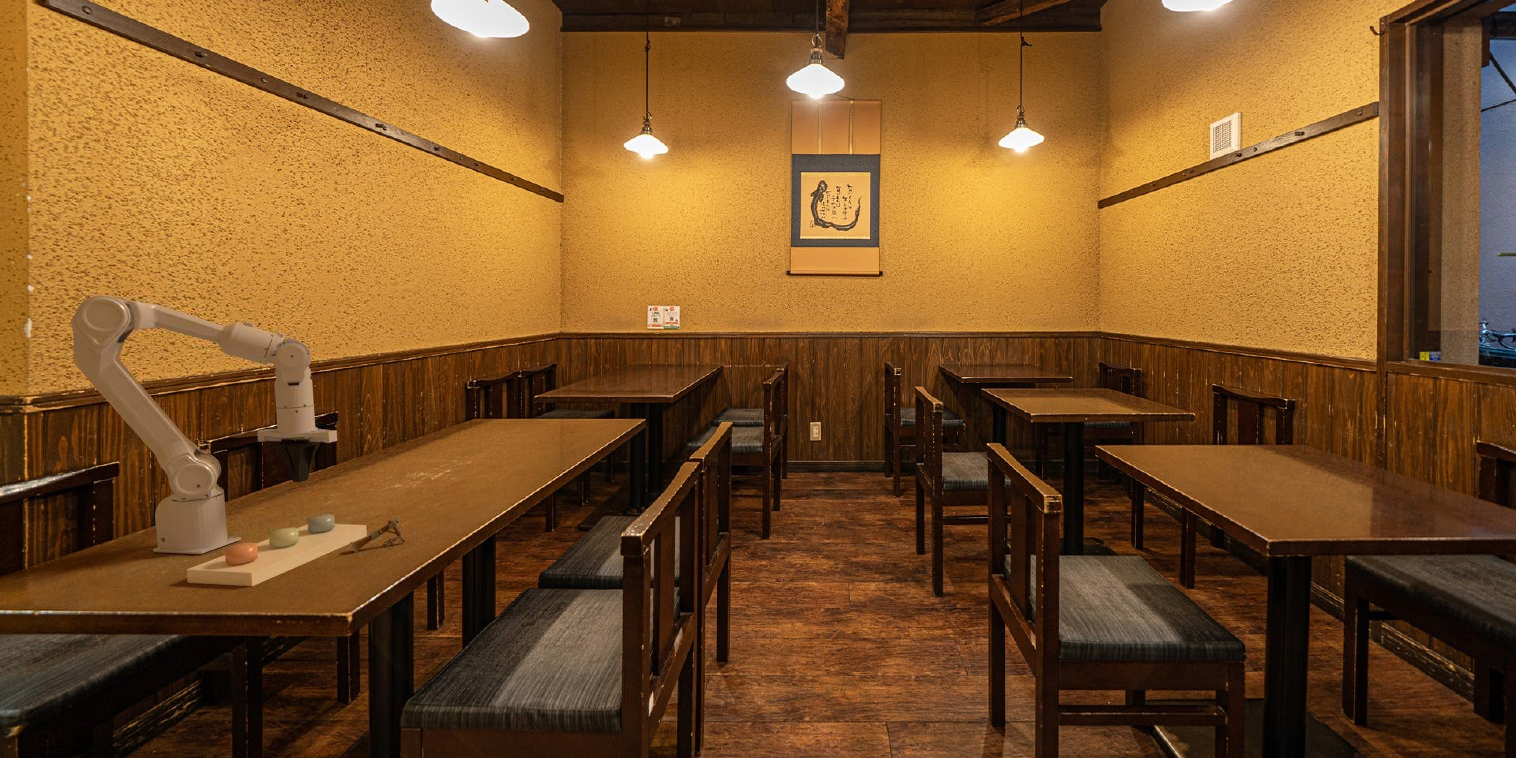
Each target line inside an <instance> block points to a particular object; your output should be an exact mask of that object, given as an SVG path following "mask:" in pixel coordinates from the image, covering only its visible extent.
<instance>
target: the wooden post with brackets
mask: <svg viewBox="0 0 1516 758" xmlns="http://www.w3.org/2000/svg"><path fill="white" fill-rule="evenodd" d="M400 522H401V521H400V519H399V518H398V519H396V520H395V519H393V520H391V519H389V520H388V521H387V524H386V525H384V526H383V527H381V528H378V529H377V530H375V531H374V532H372V533H369V535H367V536H366V537H364V538H361V539H359V540H357V541H355V542H350V544H349V546H351V548H352V550H353V551H354V553H355V554H358V553H359V550H360V549H361V548H362V547H364V546H365V545H367V544H369V543H370V542H371V541H374V540H376V539H377V538H380V537H381V536H383V535H384V533H391V534H395V536H396V537H393V538H389V539H388V540H386V541H383V544H381V547H382V548H389V547H390V546H391V545H392V546H393V545H395V542H397V540H398V539H399V540H400V541H401V542H402V543H404V542H406V539H405V538H404V536H403V534H402V533H401V532H400V530H398V528H397V526H398V525H399V523H400ZM392 529H393V531H392Z"/></svg>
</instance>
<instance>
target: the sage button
mask: <svg viewBox="0 0 1516 758" xmlns="http://www.w3.org/2000/svg"><path fill="white" fill-rule="evenodd" d="M298 528H299V527H283V528H278V529H277V528H276V529H273V530H271V531H268V539H269V544H270V546H271V547H283V546H289V545H293V544H296V543H298V542H299V535H298Z"/></svg>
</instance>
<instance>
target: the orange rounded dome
mask: <svg viewBox="0 0 1516 758" xmlns="http://www.w3.org/2000/svg"><path fill="white" fill-rule="evenodd" d="M256 543H257V542H241V543H237V544H233V545H230V546H227V547H225V548H224V555H225V560H226V563H227V564H240V563H246V562H250V561H253V560H255V559H257V558H258V551H257V544H256Z"/></svg>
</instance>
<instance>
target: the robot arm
mask: <svg viewBox="0 0 1516 758" xmlns="http://www.w3.org/2000/svg"><path fill="white" fill-rule="evenodd" d="M70 324H71V329H72V335H73V361H74V364H75V365H76V368H78V370H79V371H80V372H81V373H82V374H83V375H84V377H85V378H86V379H87V380H88V381H89V382H90V383H91V385H93V387H94V388H95V389H96V390H97V391H98V392H99V394H100V395H101V396H102V397H103V398H104V399H105V400H106V401H107V402H108V403H109V404H110V406H111V407H112V408H113V409H114V410H115V412H116V413H118V415H119V416H120V417H121V418H122V420H123V421H125V423H126V424H127V425H128V426H129V427H130V428H131V429H132V430H133V431H134V433H135V434H136V435H137V436H138V437H139V438H140V439H141V440H142V442H143V443H144V444H145V445H146V446H147V448H149V449H150V450H151V452H152V453H153V455H155V457H156V459H157V462H158V464H159V466H160V468H161V469H162V470H163V471H164V472H165V474H166V475H167V479H168V485H169V487H170V490H171V491H172V493H171V494H170V495H169V496H167V497H165V498H164V499H162V500H161V501H160V502H159V503H158V505H157V507H156V509H155V513H154V518H155V529H156V541H157V547H156V548H155V547H154V548H153V549H152V552H154V553H169V554H189V555H190V554H192V555H201V554H206V553H207V552H211V551H214V550H216V549H219V548H222V547H224V546H227V545H231V544H233V543H236V542H238V541H241V540H242V537H240V536H228V530H227V529H228V527H227V525H228V524H227V515H226V514H227V513H226V502H225V493H224V492H225V491H224V488H222V487H220V486H219V484H218V483H217V481H218V479H219V477H220V476H221V474H222V473H221V472H222V468H221V467H222V466H221V464H220V461H219V460H218V459H217V458H216V457H215V456H213V455H212V454H210V453H207V452H205V451H203V450H202V449H200V448H199V447H198V446H197V444H195V443H194V441H192V440H190V439H189V438H188V437H186V435H185V434H184V433H183V432H182V431H181V429H180V428H179V427H178V426H177V425H176V424H175V423H174V422H173V420H172V419H171V418H170V417H169V415H168V414H167V413H166V412H165V411H164V409H163V408H162V407H161V406H160V405H159V404H158V403H157V402H156V401H155V399H154V398H153V397H152V396H151V395H150V393H148V391H147V390H146V389H145V388H144V387H143V385H141V383H140V382H139V381H138V379H136V377H135V376H134V375H133V374H132V373H131V371H130V370H128V368H127V367H126V366H125V365H124V363H122V361H121V360H120V356H121V354H122V350H123V348H124V346H125V342H126V340H127V338H129V336H130V335H131V334H132V333H133V331H134V330H147V329H148V330H149V329H150V330H151V329H164V330H167V331H171V332H175V333H178V334H182V335H187V336H190V337H194V338H197V339H201V340H205V341H209V342H211V343H216V344H218V346H219V348H220V349H221V351H222V353H223V354H225V355H228V356H229V355H230V356H233V357H235V358H240V359H244V360H247V361H251V362H254V363H256V364H257V363H258V364H260V365H265V366H267V365H268V364H273V366H274V367H275V368H274V369H275V381H274V384H273V385H274V396H275V412H276V423H277V426H276V427H277V428H275V429H273V428H269V429H268V428H267V429H261V430H258V431H257V432H256V433H257V441H258V442H279V444H276V445H275V446H274V447H275V448H274V449H275V451H276V452H277V453H278V455H280V457H281V458H282V460H283V461H284V463H285V465H286V467H287V470H288V471H289V474H290V478H291V481H292V482H293V483H301V482H305V481H308V479H309V475H310V470H311V466H312V463H313V460H314V458H315V455H316V453H317V451H318V450H319V447H320V446H321V443H326V444H329V443H333V442H337V441H338V433H337V432H338V431H337V430H334V429H333V430H331V429H324V428H323V429H322V428H318V427H316V419H315V404H314V389H313V380H312V379H311V376H312V370H311V368H310V364H311V363H312V358H313V355H312V354H311V352H310V349H309V348H308V346H307V345H306V344H305V343H304V342H302V341H300V340H298V339H296V338H294V337H293V338H292V337H291V338H290V337H289V338H285V336H286V334H285V333H284V332H283V333H282V332H278V333H274V332H270V331H269V330H268V331H267V330H263V329H261V328H257V327H254V326H255V323H253V322H250V321H244V323H242V322H237V321H236V322H233V323H230V324H228V325H225V326H224V325H222V324H219V323H214V322H212V321H210V320H209V321H208V320H206V319H203V318H201V317H198V316H194V315H192V314H187V313H185V312H181V311H178V310H175V309H173V308H170V307H166V306H163V305H160V304H155V303H149V302H143V301H137V300H130V299H126V298H124V297H120V296H109V295H105V294H104V295H94V296H91V297H87V298H86V299H84V300H83V301H82V302H81V303H80V304H79V305H78V307H77V309H76V312H75V313H74V314H73V317H72V319H71V322H70Z"/></svg>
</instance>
